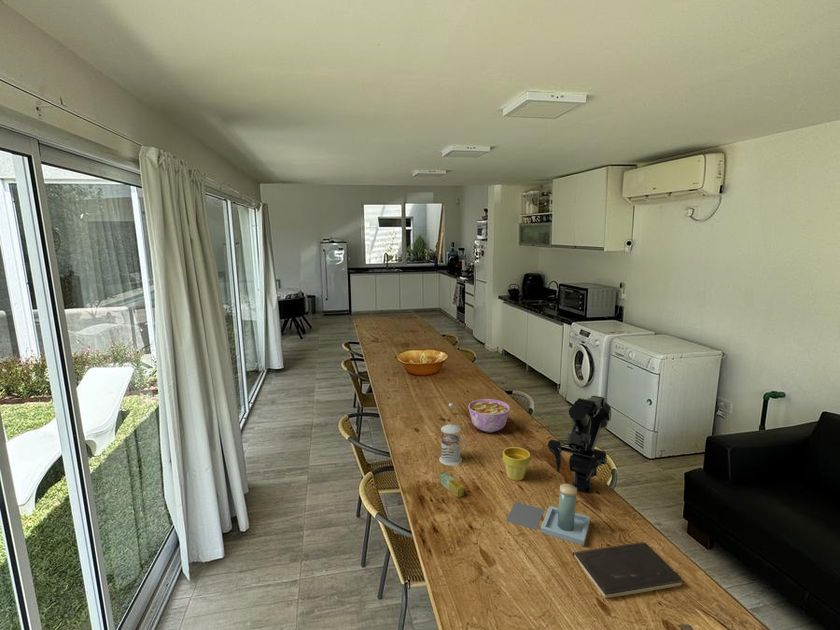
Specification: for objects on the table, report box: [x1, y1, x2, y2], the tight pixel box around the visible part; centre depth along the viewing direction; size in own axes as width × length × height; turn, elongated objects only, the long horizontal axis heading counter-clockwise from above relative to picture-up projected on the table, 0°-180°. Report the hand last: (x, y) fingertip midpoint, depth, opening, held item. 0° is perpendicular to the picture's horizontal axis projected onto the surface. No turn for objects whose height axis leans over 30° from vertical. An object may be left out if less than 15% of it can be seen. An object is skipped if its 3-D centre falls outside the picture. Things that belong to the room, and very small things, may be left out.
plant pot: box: [502, 446, 531, 482], centre depth 171 cm, size 10×10×10 cm
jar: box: [558, 483, 578, 531], centre depth 140 cm, size 5×5×13 cm
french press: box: [438, 402, 467, 467], centre depth 182 cm, size 10×12×25 cm
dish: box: [539, 505, 591, 548], centre depth 141 cm, size 13×13×2 cm
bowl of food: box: [468, 398, 511, 433], centre depth 213 cm, size 20×20×12 cm
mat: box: [505, 501, 545, 531], centre depth 147 cm, size 12×10×1 cm
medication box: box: [439, 471, 465, 498], centre depth 163 cm, size 12×3×4 cm, turn 32°
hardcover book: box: [572, 541, 685, 599], centre depth 122 cm, size 16×23×2 cm
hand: (572, 476), depth 146 cm, fingers open, 9 cm apart
